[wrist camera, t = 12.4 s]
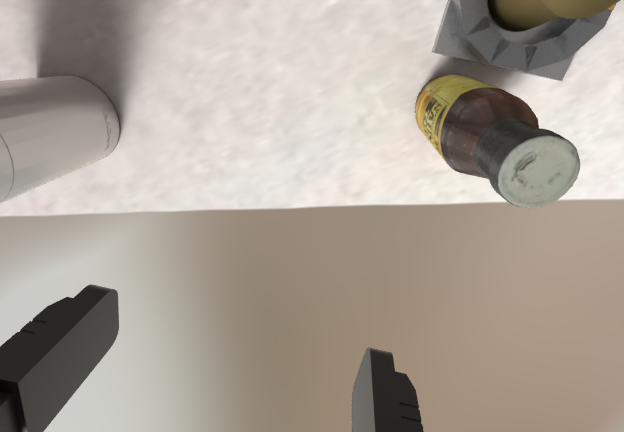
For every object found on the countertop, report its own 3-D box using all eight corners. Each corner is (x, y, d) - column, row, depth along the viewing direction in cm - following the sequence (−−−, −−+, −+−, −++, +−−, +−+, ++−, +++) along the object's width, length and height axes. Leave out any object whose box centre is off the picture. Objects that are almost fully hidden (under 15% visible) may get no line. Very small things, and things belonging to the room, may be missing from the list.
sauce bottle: (404, 88, 36) (457, 128, 18) (469, 62, 35) (596, 76, 17) (423, 149, 39) (486, 238, 20) (484, 127, 37) (611, 201, 19)
